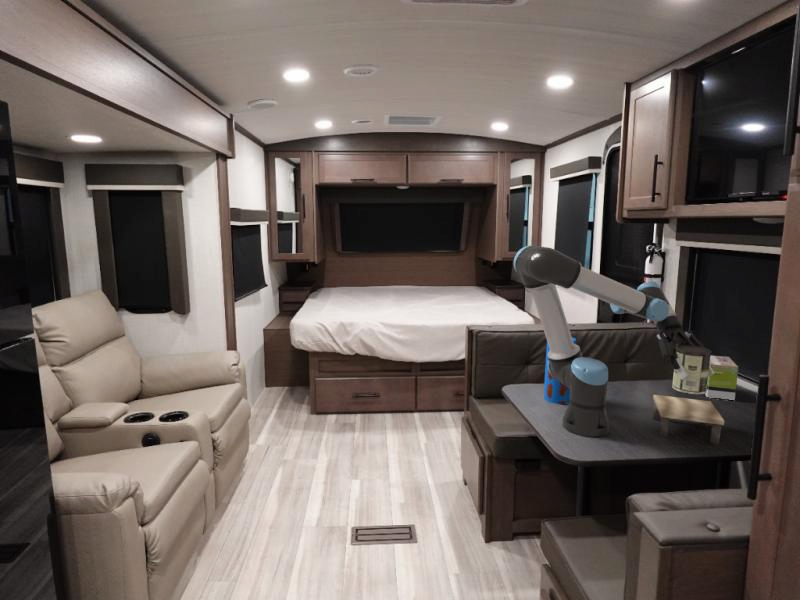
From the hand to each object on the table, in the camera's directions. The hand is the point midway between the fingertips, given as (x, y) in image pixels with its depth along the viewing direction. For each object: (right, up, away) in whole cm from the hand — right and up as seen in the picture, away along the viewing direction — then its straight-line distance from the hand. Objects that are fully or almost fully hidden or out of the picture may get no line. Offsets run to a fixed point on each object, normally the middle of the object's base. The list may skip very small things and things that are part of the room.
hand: (698, 376), depth 165 cm
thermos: (-36, -15, +34) cm, 51 cm away
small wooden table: (-1, -19, +6) cm, 20 cm away
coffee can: (-1, -5, +4) cm, 6 cm away
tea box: (+33, -14, +42) cm, 56 cm away
